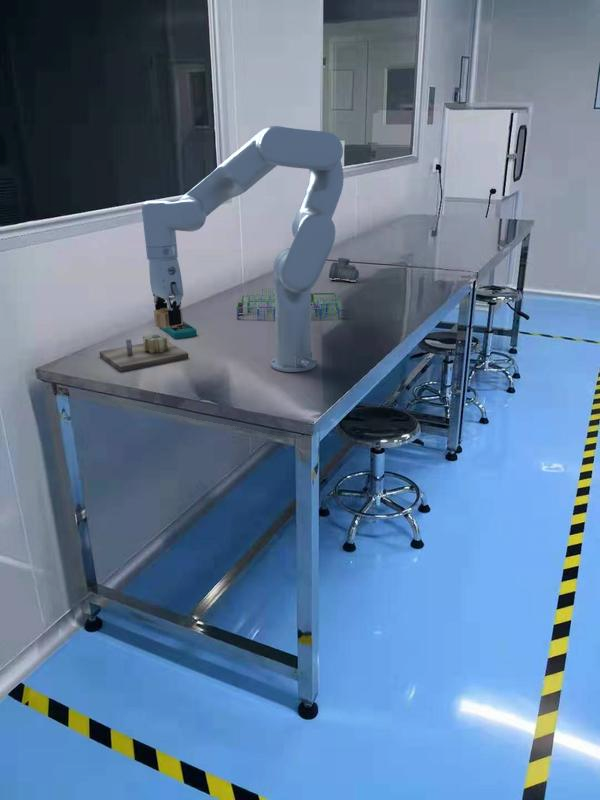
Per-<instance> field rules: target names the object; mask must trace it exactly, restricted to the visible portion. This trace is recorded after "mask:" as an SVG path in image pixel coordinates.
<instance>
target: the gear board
mask: <svg viewBox="0 0 600 800" xmlns="http://www.w3.org/2000/svg"><path fill="white" fill-rule="evenodd" d="M152 334H153V338H158V333H152ZM125 345H126V346H123V347H117V348H112V349H106V350H105V349H104V350H100V351H99V357H100V358H101V359H102V360H104V361H105V362H106V363H108V364H109V365H111V366H112V367H113V368H114V369H116V370H117V371H119V372H120V373H122V372H127V371H128V372H129V371H133V370H138V369H142V368H147V367H151V366H157V365H161V364H166V363H172V362H176V361H181V360H182V361H183V360H188V359H189V353H188V352H187V351H185V350H183V349H182V348H179V347H178V346H176V345H175V344H173V343H171V342H170V341H169V350H165V351H164V352H154V353H150V352H149V351H146V352H145V351H144V345H143V343H139V344H133V343H132V339H131V338H126V339H125Z"/></svg>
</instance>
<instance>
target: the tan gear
mask: <svg viewBox="0 0 600 800" xmlns="http://www.w3.org/2000/svg"><path fill="white" fill-rule="evenodd" d="M168 310H169V307H168V308H160V309H159V310H153V317H154V326H155V327H156V328H159V327H162V328H168V327H169V328H170V327H172V328H175V327H177V326H179V325H183V321H184V318H183V317H184V316H183V310H182V308H181V309H180V311H181V322H182V323H181V324H179V325H174V326H170V325H169V318H168Z"/></svg>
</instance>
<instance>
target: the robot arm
mask: <svg viewBox="0 0 600 800" xmlns="http://www.w3.org/2000/svg"><path fill="white" fill-rule="evenodd" d="M343 153H344V147H343V144H342V142H341V140H340V138H339V137H338V136H337V135H335V134H334V133H332V132H330V131H322V130H311V129H301V128H300V129H299V128H293V127H286V126H285V127H284V126H279V125H271V126H267V127H265V128H263V129H261V130H260V131H259V132H257V133H256V135H254V136H253V137H252V138H251V139H249V140H248V141H247V142H245V143H244V145H242V146H240V148H239V149H237V150H236V151H235V152H234V153H233V154H232V155H230V156H229V157H228V158H227V159H225V160H224V161H223V162H222V163H220V164H219V166H217V167H216V168H215V169H214V170H213V171H212V172H211V173H209V174H208V175H207V176H205V178H203V179H202V180H201V181H199V182H198V183H197V184H196V185H195V186H194V187H193V188H191V189H190V190H189V191H188V192H186V193H185V194H184V195H183V196H182V197H181V198H180V199H178V200H177V201H170V200H166V199H154V200H153V199H151V200H146V201H144V202H143V203H142V204H141V205H142V206H141V214H142V215H141V216H142V221H143V222H142V224H143V231H144V232H143V233H144V241H145V249H146V250H145V251H146V259H147V261H148V262H149V263H148V266H149V268H148V269H149V282H150V289H151V292H152V296H153V302H154V308H155V310H159V309H160V308H169V310H168V318H169V325H170V326H174V325H179V324H181V323H182V322H181V311H180V309H182V306H181V305H182V300H183V297H184V288H183V280H182V274H181V268H180V264H179V260H178V258H179V255H178V245H177V234H176V233H177V231H179V232H189V233H191V232H195V231H198V230H200V229H202V227H203V226H204V225H205V223H206V220H207V217H208V216H209V215H211V213H212V212H214V211H215V210H216V209H218V208H219V207H220V206H221V205H223V204H224V203H226V202H227V201H229V200H231V199H233V198H235V197H238V196H241V195H242V194H244V193H246V192H247V191H248V190H249V189H251V188H252V187H253V186H254V185H255V184H257V183H258V182H259V181H260V180H261V179H262V178H264V177H265V176H266V175H267V174H268V173H270V172H271V171H272V170H273V169H274V168H277V166H278V167H279V166H281V167H286V168H295V169H302V170H305V169H306V170H309V181H308V184H307V185H308V186H307V188H306V191H305V194H304V195H303V198H302V201H301V204H300V205H299V208H298V211H297V212H296V215H295V217H294V219H293V221H292V225H291V232H292V233H291V234H292V235H293V237H294V238H293V241H292V243H291V245H290V247H287V248H284V249H283V250H281V251H280V252H278V254H277V256H276V258H274V262H273V282H274V291H275V292H274V295H275V296H274V301H275V307H276V308H275V357H273V358H272V359H271V360H270V367H271V368H273V369H274V370H276V371H279V372H280V371H281V372H287V373H301V372H307V371H310V370H313V369H315V368H316V366H317V362H318V361H317V359H315V358H314V357H313V352H312V350H311V349H312V346H311V345H312V327H311V326H312V309H311V307H312V305H311V293H312V288H313V287H314V286H315V285H316V283H317V282H318V280H319V277H320V276H321V273H322V272H323V269H324V267H325V264H326V262H327V260H328V257H329V255H330V253H331V250H332V248H333V245H334V243H335V239H336V226H335V223H334V221H333V220H332V219H333V216H334V214H335V211H336V210H337V207H338V203H339V200H340V197H341V195H342V192H343V188H344V187H343V186H344V169H343V164H342V158H343V155H344V154H343ZM171 296H172V297H171ZM155 310H154V311H155Z"/></svg>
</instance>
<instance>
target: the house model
mask: <svg viewBox="0 0 600 800" xmlns="http://www.w3.org/2000/svg"><path fill="white" fill-rule="evenodd" d="M265 290H266V288H263V292H264V294H261V295H260V294H257V295H255V293H252V299H251V295H248V299H247V302H244V295H242V298H241V300H240V302H239V301H238V302H237V304H236V320H237V319H238V320H239V316H240V315H239V313H243V315H242V317H241V318H242V319H245V318H244V315H245V314H246V316H247V318H250V315H249V316H248V311H249V312H250V309H256V310H257V311H256V313H254V315H255V318H254V317H252V320H253V319H256V318H257V319H256V320H259V317H260V315H261V313H263V321H266V320H267V321H268V316H269V313H272V310H270V311H269V309H273V320H274V319H275V320H276V316H275V309H276V306H275V300H271V297H275V294H273V291H274V288H271V290H272V291H271V290H270V289H267V294H266V293H265V292H266V291H265ZM315 295H334V297H315ZM253 297H254V298H253ZM256 297H257V298H258V299H257V300H256ZM262 297H263V298H264V299H263V300H262ZM268 298H269V300H268ZM253 299H254V300H253ZM319 299H320V300H323V301H324V300H325V299H326V301H325V302H323V301H319ZM330 299H331V300H332V301H330ZM334 299H335V302H334ZM327 300H329V301H327ZM252 303H254V305H257V306H252ZM263 303H264V304H263ZM311 303H313V304H314V305H313V306H311V310H313V311H314V310H315V312H314V314H315V313H316V314H315V317H316V316H317V317H319V316H320V317H319V320H320V319H321V320H322V314H323V315H325V318H327V316H328V317H329V315H331V317H332V318H333V317H334V318H335V316H334V311H336V310H337V312H335V315H337V314H338V316H337V319H338V318H340V305H339V301H338V300H337V296H336V293H335V292H331V293H330V292H327V293H326V292H317V293H314V292H311ZM245 304H246V305H247V306H245ZM272 304H273V306H272ZM243 305H244V307H243ZM261 305H262V307H261ZM249 306H250V307H249ZM265 306H266V307H265ZM268 306H269V307H268ZM323 306H324V307H323ZM329 308H330V309H329ZM335 308H336V310H335ZM244 309H245V314H244ZM261 309H263V310H261ZM317 309H318V310H317ZM323 309H324V311H325V312H323V311H322V310H323ZM266 312H267V313H266ZM326 312H327V313H326ZM330 312H331V313H330ZM327 314H328V315H327ZM238 315H239V316H238ZM256 315H257V316H256ZM258 316H259V317H258ZM266 316H267V317H266ZM266 318H267V319H266ZM332 318H331V319H332Z"/></svg>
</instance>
